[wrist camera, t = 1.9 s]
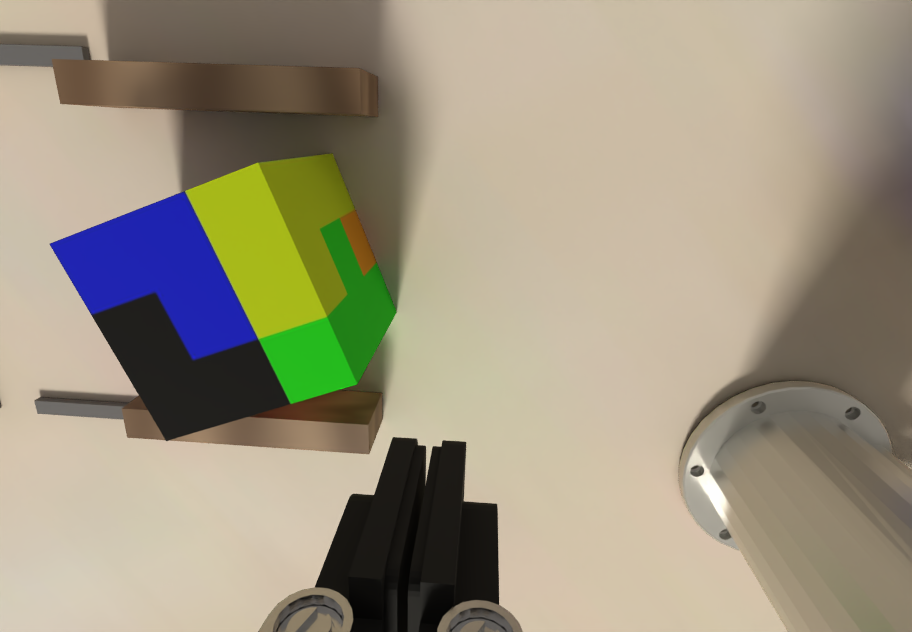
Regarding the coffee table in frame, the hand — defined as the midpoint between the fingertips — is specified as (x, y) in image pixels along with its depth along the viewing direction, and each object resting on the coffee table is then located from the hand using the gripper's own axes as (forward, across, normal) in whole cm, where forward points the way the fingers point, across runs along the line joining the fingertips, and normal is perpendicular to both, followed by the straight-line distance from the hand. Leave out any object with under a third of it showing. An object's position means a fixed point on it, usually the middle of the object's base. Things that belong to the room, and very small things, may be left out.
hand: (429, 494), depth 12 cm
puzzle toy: (+21, +11, 0) cm, 24 cm away
